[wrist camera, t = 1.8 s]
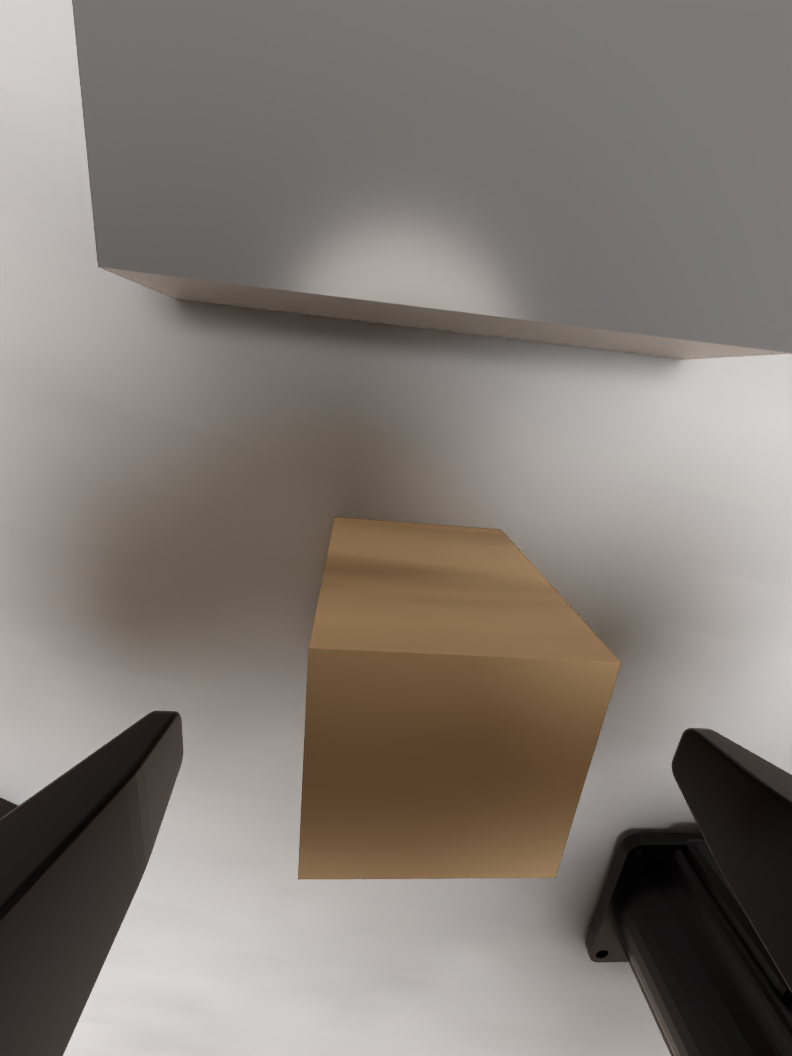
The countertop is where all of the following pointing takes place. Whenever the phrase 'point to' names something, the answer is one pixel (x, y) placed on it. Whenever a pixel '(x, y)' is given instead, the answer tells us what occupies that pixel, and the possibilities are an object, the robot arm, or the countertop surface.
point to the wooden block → (444, 708)
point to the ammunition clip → (6, 807)
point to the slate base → (453, 163)
